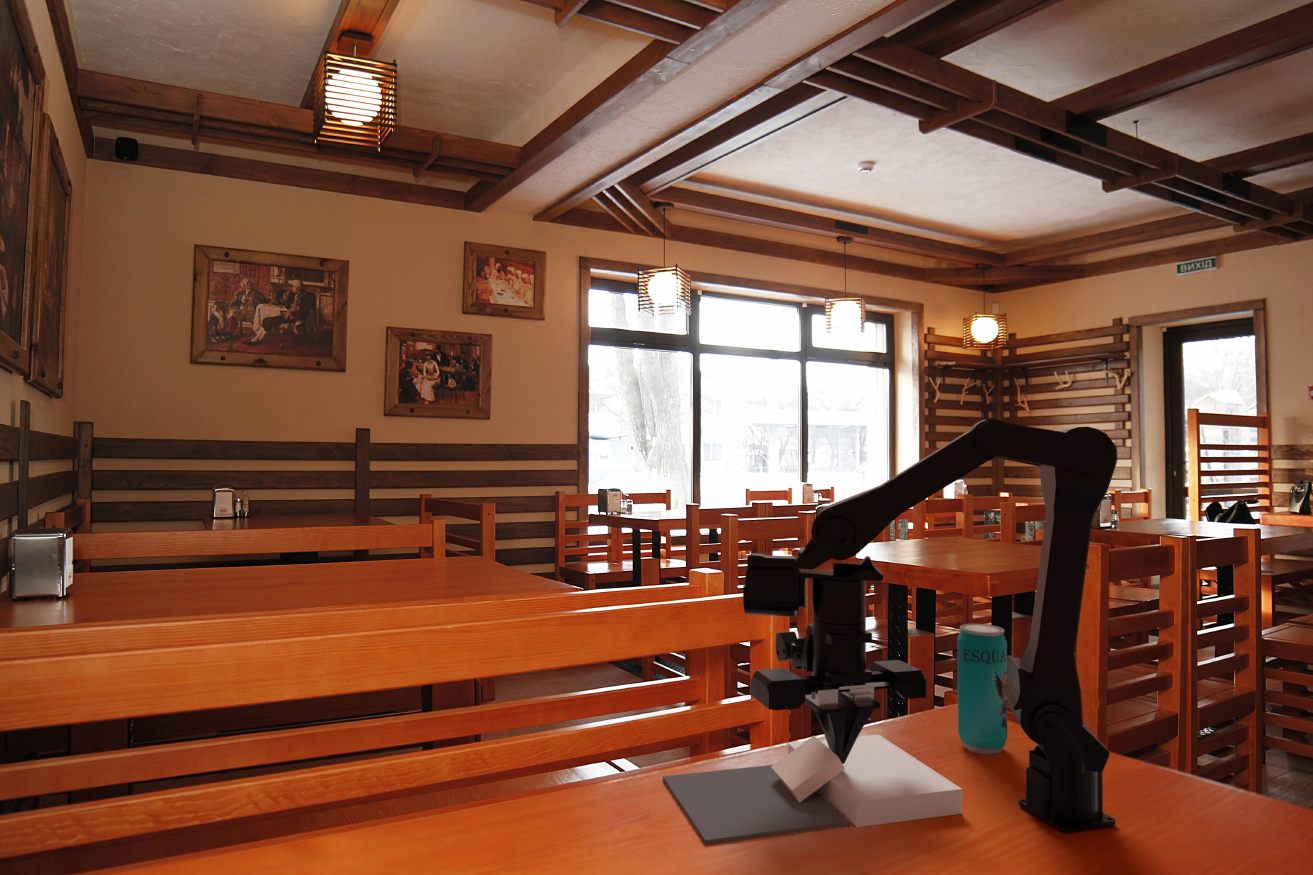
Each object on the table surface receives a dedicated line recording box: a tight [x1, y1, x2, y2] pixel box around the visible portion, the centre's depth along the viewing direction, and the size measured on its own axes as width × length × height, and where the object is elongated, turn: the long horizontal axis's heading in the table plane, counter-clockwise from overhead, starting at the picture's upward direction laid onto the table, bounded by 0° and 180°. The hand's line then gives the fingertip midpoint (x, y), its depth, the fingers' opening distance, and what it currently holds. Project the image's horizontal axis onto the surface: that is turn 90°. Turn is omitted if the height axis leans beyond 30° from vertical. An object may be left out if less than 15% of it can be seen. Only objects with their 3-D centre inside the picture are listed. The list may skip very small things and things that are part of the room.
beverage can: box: [957, 623, 1008, 756], centre depth 98 cm, size 6×6×15 cm
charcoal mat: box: [662, 764, 851, 845], centre depth 82 cm, size 15×15×1 cm
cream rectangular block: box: [771, 735, 845, 803], centre depth 84 cm, size 6×6×2 cm
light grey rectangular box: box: [787, 734, 963, 828], centre depth 86 cm, size 12×16×2 cm
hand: (838, 762), depth 85 cm, fingers closed
